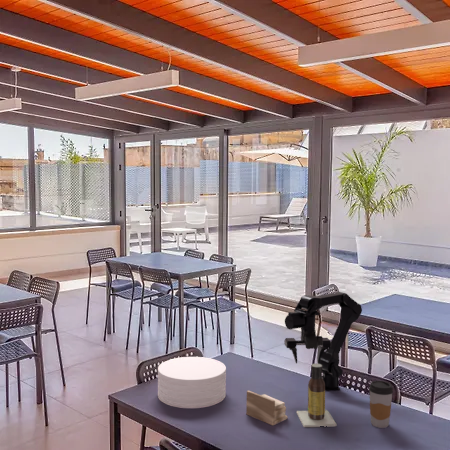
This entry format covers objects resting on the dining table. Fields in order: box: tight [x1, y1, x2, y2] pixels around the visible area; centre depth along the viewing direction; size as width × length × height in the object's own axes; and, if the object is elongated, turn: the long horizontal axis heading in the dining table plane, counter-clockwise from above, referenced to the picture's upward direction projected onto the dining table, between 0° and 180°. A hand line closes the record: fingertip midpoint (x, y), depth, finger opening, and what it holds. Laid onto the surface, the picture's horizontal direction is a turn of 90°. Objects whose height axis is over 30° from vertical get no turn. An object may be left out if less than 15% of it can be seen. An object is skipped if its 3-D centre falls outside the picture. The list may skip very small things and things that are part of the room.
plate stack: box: [157, 356, 227, 409], centre depth 218 cm, size 28×28×12 cm
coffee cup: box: [368, 380, 394, 429], centre depth 192 cm, size 8×8×15 cm
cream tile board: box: [296, 409, 337, 428], centre depth 196 cm, size 12×12×1 cm
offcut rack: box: [245, 390, 288, 426], centre depth 198 cm, size 9×13×9 cm
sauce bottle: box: [307, 363, 326, 420], centre depth 195 cm, size 6×6×20 cm
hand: (307, 363), depth 220 cm, fingers open, 9 cm apart
